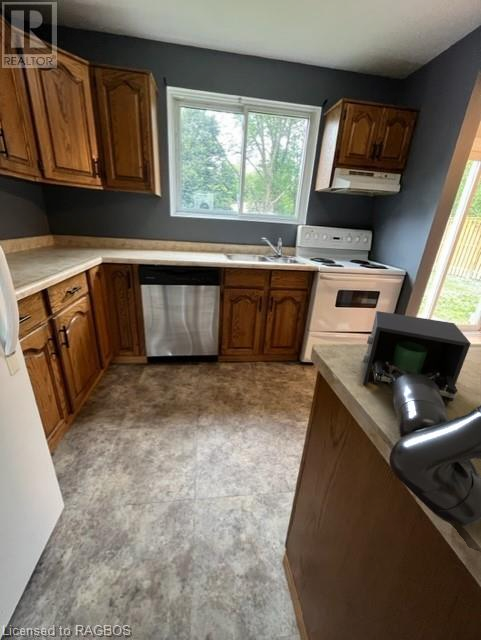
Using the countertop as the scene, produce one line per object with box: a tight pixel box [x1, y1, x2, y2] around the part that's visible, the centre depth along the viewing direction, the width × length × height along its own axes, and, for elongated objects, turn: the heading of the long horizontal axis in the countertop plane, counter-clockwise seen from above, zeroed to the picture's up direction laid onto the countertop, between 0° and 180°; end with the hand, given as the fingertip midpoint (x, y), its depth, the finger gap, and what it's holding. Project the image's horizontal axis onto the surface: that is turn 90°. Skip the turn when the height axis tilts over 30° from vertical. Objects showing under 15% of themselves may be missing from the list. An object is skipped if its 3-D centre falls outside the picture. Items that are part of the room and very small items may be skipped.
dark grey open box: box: [362, 310, 472, 407], centre depth 64 cm, size 18×13×15 cm
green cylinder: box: [387, 341, 428, 385], centre depth 63 cm, size 6×6×10 cm
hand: (408, 363), depth 62 cm, fingers open, 8 cm apart
